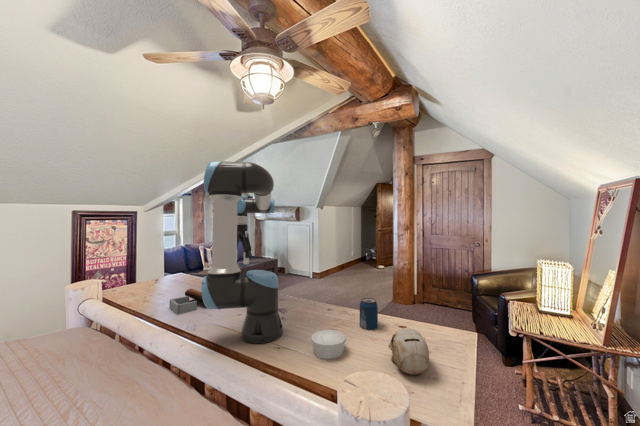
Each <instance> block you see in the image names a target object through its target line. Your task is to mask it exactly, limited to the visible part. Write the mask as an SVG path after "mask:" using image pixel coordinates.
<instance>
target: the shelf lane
mask: <svg viewBox="0 0 640 426" xmlns="http://www.w3.org/2000/svg"><path fill="white" fill-rule="evenodd" d="M197 306H198V302H197V300H194V301H190V297H189V296H185V295H184V296H181V297H176V298H170V299H169V309H170V310H171V311H172V312H173V313H175V315H181V314H184V313H185V314H186V313H189V312H194V311H197V310H198V307H197Z"/></svg>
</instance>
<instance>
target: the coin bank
mask: <svg viewBox="0 0 640 426" xmlns="http://www.w3.org/2000/svg"><path fill="white" fill-rule="evenodd" d="M388 349H389V350H391V355H392V356H391V358H390V360H391V362H392V363H393V364H396V365H397V367H398V368H399V370H400V371H402V372H403V373H404V374H406V375H407V374H408V375H410V376H415V375H416V376H418V375H421V374H423V372H425V371H426V370H427V369H428V367H429V364H430V351H429V346H428V344H427V341H426V340H425V338H424V337H423V335H422V334H421V333H420V332H419V331H418V330H416V329H414V328H400V329H399V330H397V331H395V333H394V334H393V335H392V336H391V339H390V342H389V344H388Z"/></svg>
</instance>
